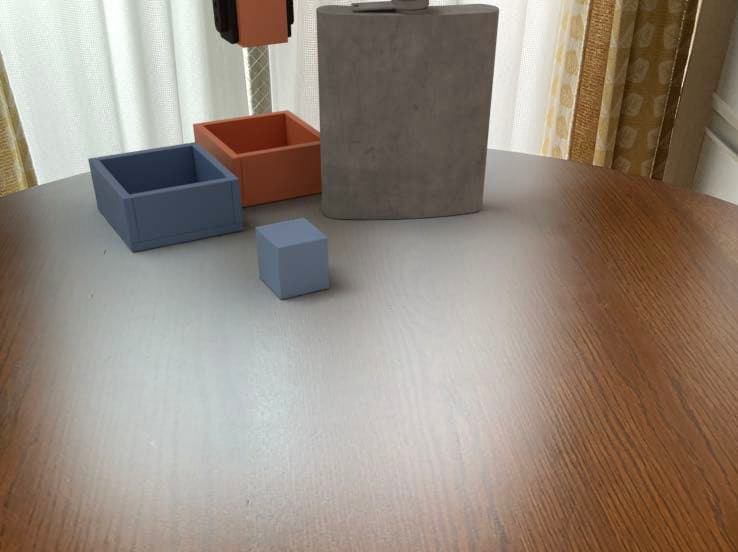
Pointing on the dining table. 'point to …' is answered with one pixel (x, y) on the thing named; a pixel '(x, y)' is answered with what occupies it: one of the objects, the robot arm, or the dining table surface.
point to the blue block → (292, 257)
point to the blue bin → (166, 195)
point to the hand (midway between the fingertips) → (255, 34)
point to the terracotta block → (261, 22)
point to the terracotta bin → (266, 154)
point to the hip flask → (404, 107)
